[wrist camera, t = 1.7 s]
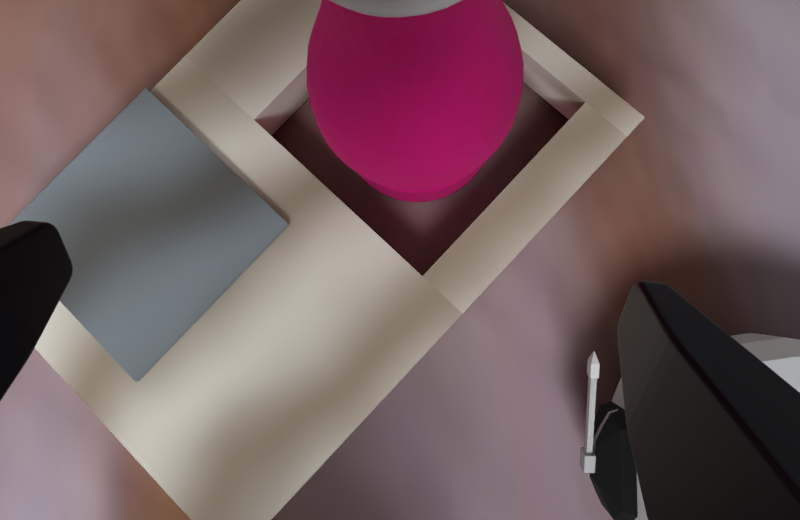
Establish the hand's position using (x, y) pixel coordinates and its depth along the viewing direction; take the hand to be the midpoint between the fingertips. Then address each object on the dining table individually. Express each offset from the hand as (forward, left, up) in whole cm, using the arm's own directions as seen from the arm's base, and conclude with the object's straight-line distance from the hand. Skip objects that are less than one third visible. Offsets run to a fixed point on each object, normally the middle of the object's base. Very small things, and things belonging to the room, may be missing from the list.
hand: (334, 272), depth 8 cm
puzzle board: (+5, -1, -13) cm, 15 cm away
